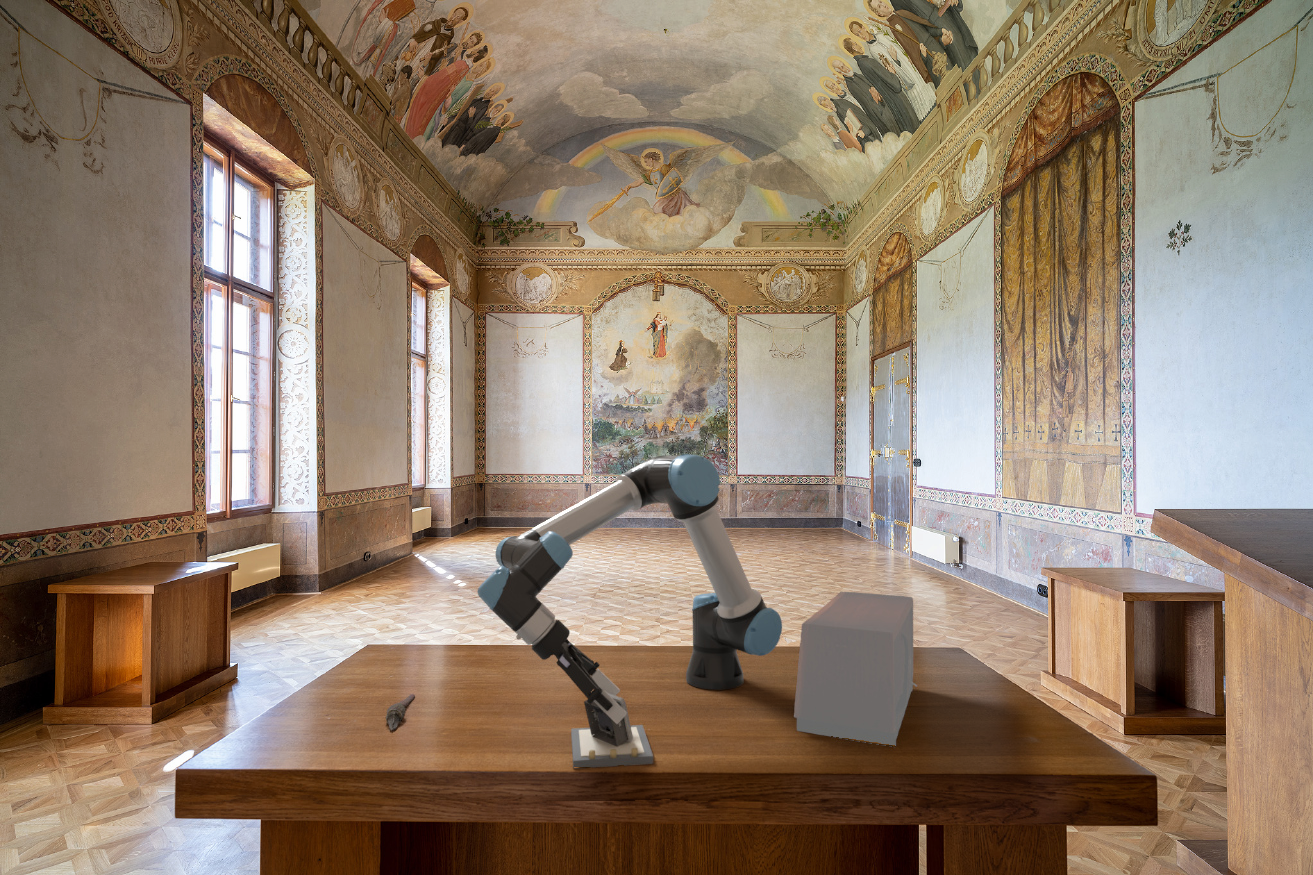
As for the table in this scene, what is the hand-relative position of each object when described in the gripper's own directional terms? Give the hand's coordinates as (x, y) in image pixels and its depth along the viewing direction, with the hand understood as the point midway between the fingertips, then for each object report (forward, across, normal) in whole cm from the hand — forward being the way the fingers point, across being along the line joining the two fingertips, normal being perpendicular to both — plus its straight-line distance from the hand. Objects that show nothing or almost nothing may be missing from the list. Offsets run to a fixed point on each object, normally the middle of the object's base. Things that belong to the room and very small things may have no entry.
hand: (618, 706), depth 133 cm
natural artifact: (-27, -27, -39) cm, 55 cm away
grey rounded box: (+48, -14, +35) cm, 61 cm away
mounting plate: (+5, 0, -7) cm, 8 cm away
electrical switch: (+4, 0, -6) cm, 7 cm away
